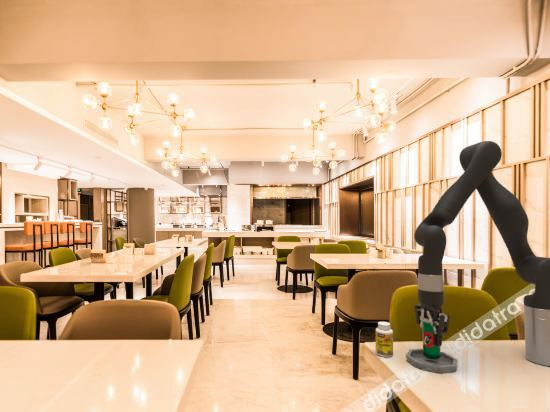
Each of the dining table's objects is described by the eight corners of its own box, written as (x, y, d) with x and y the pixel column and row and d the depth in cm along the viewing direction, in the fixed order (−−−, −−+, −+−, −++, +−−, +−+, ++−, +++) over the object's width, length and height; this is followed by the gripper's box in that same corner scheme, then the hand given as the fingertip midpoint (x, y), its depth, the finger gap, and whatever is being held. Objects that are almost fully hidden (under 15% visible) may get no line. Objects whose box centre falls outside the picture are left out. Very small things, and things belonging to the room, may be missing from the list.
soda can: (442, 361, 100) (442, 320, 101) (425, 359, 101) (424, 319, 102) (438, 354, 105) (437, 316, 106) (421, 353, 106) (420, 315, 107)
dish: (435, 353, 111) (435, 347, 111) (468, 371, 97) (467, 364, 98) (398, 355, 108) (398, 350, 108) (426, 374, 95) (426, 368, 95)
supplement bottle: (375, 356, 108) (374, 324, 108) (376, 350, 113) (376, 320, 114) (393, 358, 106) (392, 326, 106) (393, 352, 111) (393, 322, 112)
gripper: (457, 292, 98) (459, 350, 97) (426, 283, 112) (427, 334, 111) (435, 293, 96) (436, 352, 95) (406, 284, 110) (407, 336, 109)
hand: (431, 342), depth 103 cm, fingers closed on soda can, 5 cm apart
